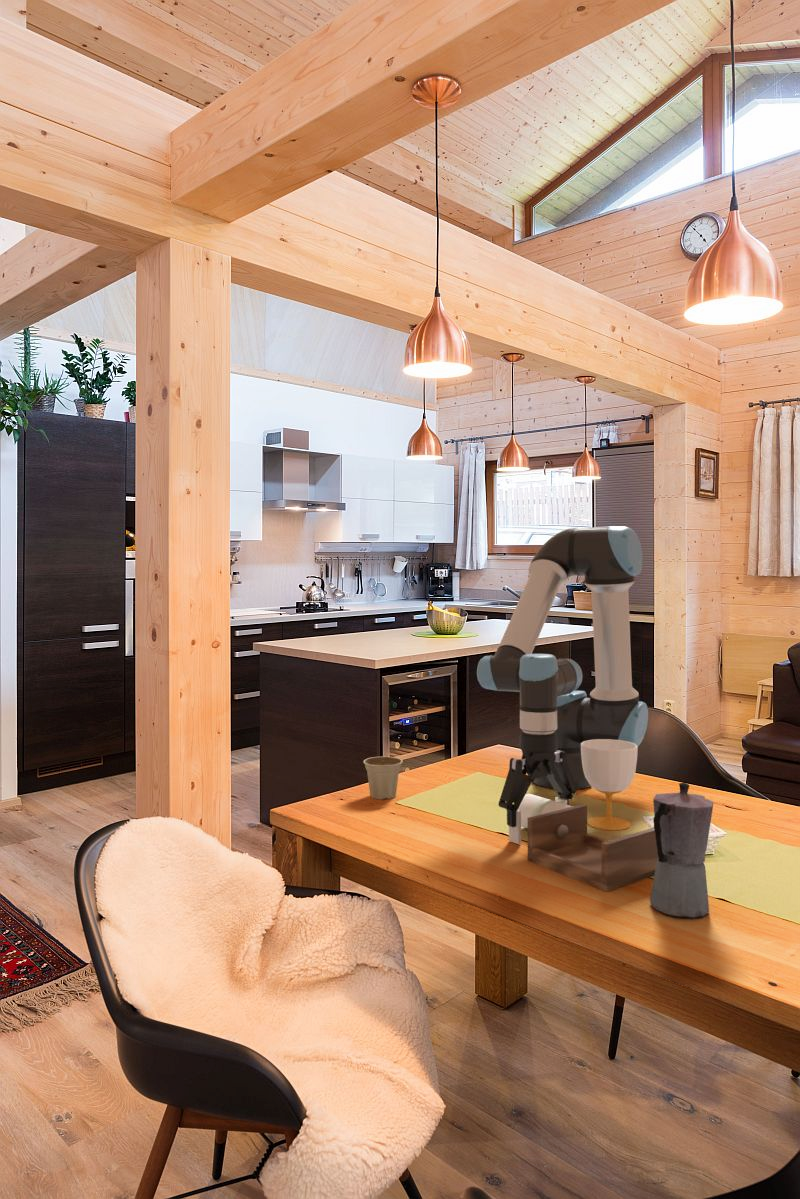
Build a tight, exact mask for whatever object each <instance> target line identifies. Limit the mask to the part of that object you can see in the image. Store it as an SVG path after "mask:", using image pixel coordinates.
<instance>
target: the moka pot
mask: <svg viewBox="0 0 800 1199" xmlns="http://www.w3.org/2000/svg"><path fill="white" fill-rule="evenodd" d="M678 785H679V792H669V793H668V792H666V793H658V794H657V793H656V794H655V795H654V797H653V803H652V804H653V811H654V815H653V820H652V821H653V827H654V829H655V835H656V844H657V849H658V850H657V852H658V859H657V864H656V869H655V875H654V876H653V881H652V886H651V892H650V896H649V902H650V905H651V906H652V907H653V908H654V909H655V910H657V911H659V912H661V913H664V914H666V915H669V916H674V917H680V918H701V917H704V916H706V915H707V914H709V912H710V904H709V894H708V884H707V883H708V882H707V871H706V865H705V860H706V852H707V847H708V844H709V843H708V842H709V835H710V829H711V822H712V816H713V808H714V801H713V800H710V799H707V798H705V797H706V796H704V795H700V794H695V793H693V794H692V793H688V791H689V790H690V784H689V783H686V782H680V783H678Z"/></svg>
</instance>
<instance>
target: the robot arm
mask: <svg viewBox="0 0 800 1199" xmlns="http://www.w3.org/2000/svg"><path fill="white" fill-rule="evenodd" d="M643 558H644V556H643V549H642V544H641V542H640V539H639V537H638V534H637V533H636V532H635V531H634V530H633V529H632V528H631V527H628V526H620V525H619V526H616V525H615V526H614V525H611V526H596V527H595V526H594V527H571V528H567V529H564V530H562V531H559V532H558V533H556V534H555V535H553V536H552V537H551V538H549V539H548V540H547V541H546V542H544V543H543V545H541V547H540V548H539V549H538V550H537V552H536V553H535V555H534V556H533V558H532V561H531V562H530V564H529V567H528V574H529V577H528V579H527V581H526V584H525V586H524V588H523V590H522V592H521V595H520V597H519V600H518V602H517V604H516V606H515V608H514V611H513V613H512V616H511V618H510V620H509V622H508V624H507V626H506V628H505V629H506V630H505V632H504V633H503V635H502V638H501V640H500V643H499V645H498V647H497V649H496V651H495V653H494V655H492V654H491V655H485V656H483V657H482V658H480V660H479V661H478V663H477V669H476V676H477V681H478V683H479V685H480V686H481V687H482V688H483V689H486V690H492V691H497V692H517V693H519V728H520V729H521V731H520V732H519V749H520V750H521V752H522V756H521V758H514V757H511V758H510V759H509V766H508V767H509V768H508V772H507V775H506V779H505V781H504V785H503V788H502V792H501V795H500V798H499V801H498V807H500V808H502V809H505V810H506V825H507V826H508V841H509V842H511V843H515V844H517V845H521V844H522V826H521V811H520V810H518V808H519V806H520V804H521V802H522V800H523V798H524V796H525V794H527V792H528V790H529V788H530V786H531V784H532V783H534V784H536V785H537V786H540V787H543V788H548V789H554V791H555V793H556V795H557V796H556V797H554V801H557V802H559V803H563V804H566V805H569V806H570V804H569V803H570V802H569V801H570V800H573V799H574V795H576V794H577V790H580V789H582V790H583V789H586V788H589V787H591V786H590V784H589V783H588V781H587V779H586V778H585V775H584V771H583V767H582V758H581V743H582V742H583V741H587V740H594V739H613V740H622V741H628V742H631V743H634V744H636V745H637V746H638V747H639V746H640V744H641V743H642V742H643V740H644V738H645V735H646V732H647V727H648V720H649V709H648V705H647V703H646V702H644V701H640V695H639V691H638V690H636V689H635V688H634V687H633V678H632V677H633V676H632V674H633V673H632V655H631V654H632V652H631V626H630V624H631V623H630V601H629V599H630V598H629V589H630V588H631V587H632V586H633V585H634V584H635V580H636V579H635V577H636V576H638V575H640V574H641V572H642V570H643V562H644V559H643ZM574 576H578V577H579V576H580V577H581V576H584V585H585V586H586V587H587V588H588V589H589V590H590V592H591V605H592V608H591V609H592V628H593V629H592V630H593V631H592V633H593V653H594V654H593V655H594V657H593V658H594V675H595V676H594V677H595V687H594V688H593V689H592V690H591V691H590V693H589V697H588V696H587V695H588V694H587V693H586V691H585V690H578V689H579V687H580V686H581V684H582V682H583V676H584V675H583V671H582V668H581V666H580V665H579V664H578V663H577V662H576V661H575V660H573V659H571V658H558V659H557V657H556V656H555V655H554V654H551V653H533V651H534V649H535V647H536V645H537V642H538V640H539V637H540V635H541V632H542V630H543V628H544V625H545V622H546V620H547V618H548V616H549V613H550V611H551V608H552V606H553V603H554V602H555V599H556V596H557V593H558V592H559V589H560V588H562V587H563V586H564V585H566V583H567V581H568V579H569V578H570V577H574Z"/></svg>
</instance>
